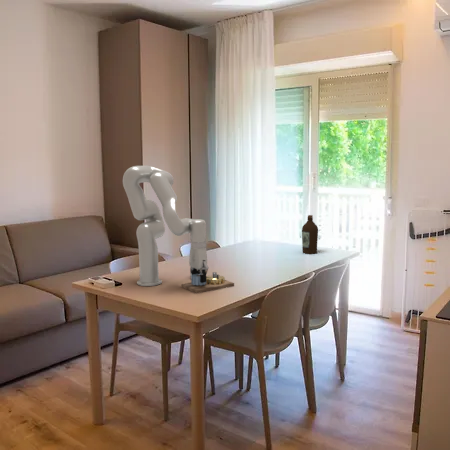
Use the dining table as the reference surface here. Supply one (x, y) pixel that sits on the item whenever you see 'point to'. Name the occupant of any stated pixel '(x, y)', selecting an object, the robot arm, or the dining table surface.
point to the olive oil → (309, 236)
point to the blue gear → (196, 280)
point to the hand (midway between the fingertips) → (199, 280)
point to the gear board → (206, 286)
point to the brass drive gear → (215, 279)
